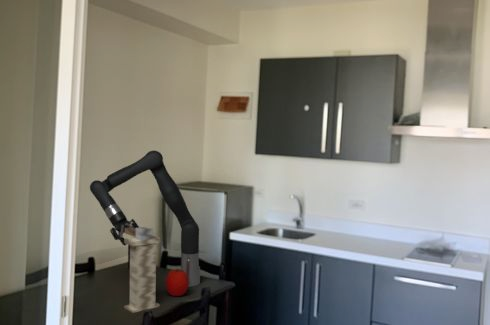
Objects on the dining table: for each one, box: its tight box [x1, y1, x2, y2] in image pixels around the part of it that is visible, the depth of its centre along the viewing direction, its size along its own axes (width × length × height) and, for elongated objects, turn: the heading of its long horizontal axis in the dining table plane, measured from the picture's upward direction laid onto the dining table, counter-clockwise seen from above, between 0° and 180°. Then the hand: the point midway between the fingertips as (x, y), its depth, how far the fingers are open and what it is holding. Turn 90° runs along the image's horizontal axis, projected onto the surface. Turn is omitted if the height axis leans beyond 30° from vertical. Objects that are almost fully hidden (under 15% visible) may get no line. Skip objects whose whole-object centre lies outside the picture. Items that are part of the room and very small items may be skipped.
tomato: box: [165, 268, 189, 297], centre depth 256 cm, size 12×12×13 cm
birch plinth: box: [123, 235, 161, 314], centre depth 238 cm, size 14×8×32 cm, turn 130°
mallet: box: [124, 226, 154, 241], centre depth 241 cm, size 6×19×5 cm, turn 40°
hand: (132, 241), depth 256 cm, fingers open, 8 cm apart
